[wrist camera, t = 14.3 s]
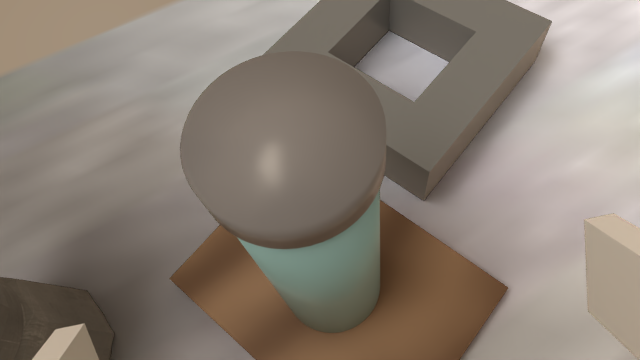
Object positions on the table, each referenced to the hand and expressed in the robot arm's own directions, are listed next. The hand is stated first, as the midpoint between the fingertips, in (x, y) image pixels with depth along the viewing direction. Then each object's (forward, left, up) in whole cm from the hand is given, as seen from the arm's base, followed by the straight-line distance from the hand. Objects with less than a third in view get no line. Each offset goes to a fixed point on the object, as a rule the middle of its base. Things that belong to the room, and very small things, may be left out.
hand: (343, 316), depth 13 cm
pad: (-4, +3, -16) cm, 17 cm away
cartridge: (-4, +3, -15) cm, 16 cm away
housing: (-10, +18, -16) cm, 26 cm away
